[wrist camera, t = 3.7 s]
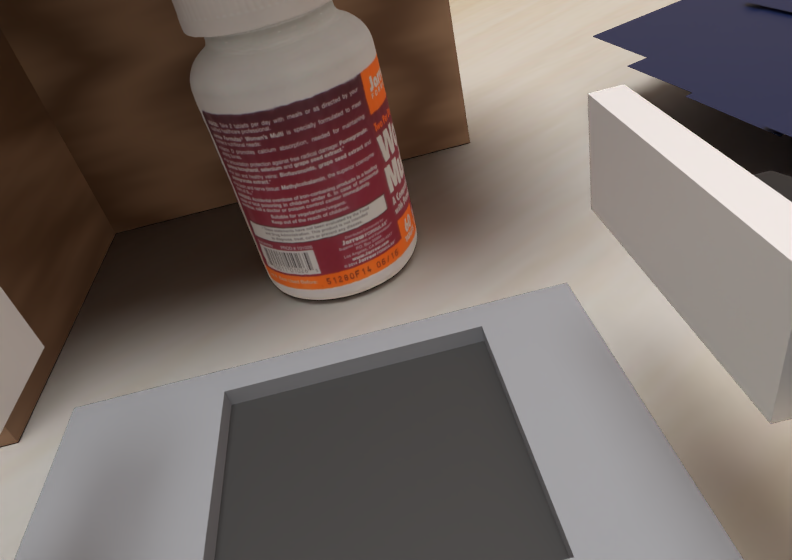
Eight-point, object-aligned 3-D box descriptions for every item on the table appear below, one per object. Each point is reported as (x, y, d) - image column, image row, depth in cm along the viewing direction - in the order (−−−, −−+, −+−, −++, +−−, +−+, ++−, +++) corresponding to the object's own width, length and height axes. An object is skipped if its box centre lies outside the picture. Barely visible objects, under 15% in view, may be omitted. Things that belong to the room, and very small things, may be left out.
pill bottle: (446, 263, 23) (378, -79, 17) (291, 330, 22) (152, -13, 15) (385, 201, 28) (313, -83, 21) (255, 252, 27) (138, -32, 20)
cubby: (-12, 449, 20) (-549, -131, 11) (101, 228, 32) (-110, -139, 23) (568, 302, 20) (523, -415, 11) (465, 135, 32) (402, -274, 23)
